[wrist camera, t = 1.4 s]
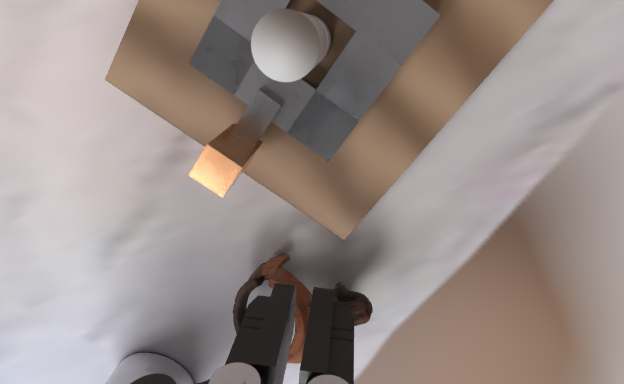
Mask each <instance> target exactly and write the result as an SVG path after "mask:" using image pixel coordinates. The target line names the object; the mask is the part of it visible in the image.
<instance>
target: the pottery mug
mask: <svg viewBox="0 0 624 384" xmlns="http://www.w3.org/2000/svg"><path fill="white" fill-rule="evenodd" d="M288 260H290V256H289V255H279V256H276V257H275V258H272V259H270V260H269V261H268V262H267V263H263V264H261V265H260V266H259V267H258V268H257V269H256V270H255V272H254V273H253V274H252V275H251V277H250V278H249V280H248V281H247V282H246V283H245V284H244V285H243V286H242V287H241V288H240V290H239V291H238V293H237V296H236V299H235V304H234V309H233V315H234V317H233V318H234V326H235V330H236V333H238V330H239V328H240V325H241V323H242V320H243V318H244V315H245V312H246V310H247V300H248V297H249V295H250V293H251V292H252V291H253V290H254V289H255V288H256V287H258V286H260V285H261V284H262V283H263V281H264V280H269V286H270V287H271V288H274V285H275V283H283V284H292V285H296V300H295V335H294V339H293V342H292V344H291V346H290V350H289V354H288V359H287V362H288V363H301V361H302V355H303V349H304V343H305V337H306V331H307V325H308V319H309V313H310V307H311V301H312V294H311V293H310V292H309V291H308V289H306V288H305V286H304V285H303V284H302V283H301V282H300V281H298V280H297V279H296V278H295V277H294V276H293V275H291V274H290V273H289V272H287V271H286V270H284V269H281V267H282V265H283V264H284V263H286V262H287V261H288ZM333 290H334V299H333V305H339V306H347V307H349V309H350V311H351V313H352V315H353V317H354V326H356V325H360V324H364V323H366V322H368V321H369V319H370V316H371V313H372V304H371V302H370V301H369V299H368V298H367V297H366V296H365V295H364V294H361V293H358V292H353V291H349V290H348V289H347V288H346V287H345V286H344V285H343V284H341V283H338V284H337V285H336V287H335V288H334V289H333Z"/></svg>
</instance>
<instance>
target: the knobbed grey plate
mask: <svg viewBox="0 0 624 384" xmlns="http://www.w3.org/2000/svg"><path fill="white" fill-rule="evenodd" d="M293 1H294V0H221V2H220V4H219V6H218V8H217V10H216V12H215V14H214V16H213V17H212V19H211V21H210V23H209V25H208V27H207V29H206V31H205V33H204V35H203V37H202V39H201V41H200V43H199V45H198V46H197V48H196V50H195V52H194V54H193V56H192V58H191V60H190V62H189V64H190V65H191V66H193V67H194V68H196V69H197V70H198V71H200V72H201V73H203V74H204V75H206V76H207V77H208V78H210V79H211V80H213V81H214V82H215V83H217V84H218V85H220V86H221V87H223V88H224V89H225V90H227V91H228V92H230V93H231V94H233V95H234V96H235V97H237V98H238V99H240V100H241V101H243V102H244V103H245V104H247V105H248V107H247V108H246V110H245V112H244V113H243V115H242V117H241V118H240V120H239V121H238V123H237V124H236V123H233V124H232V125H231V126H230V127H228V128H227V129H226V130H224V131H223V132H222V133H221V134H219V135H218V136H217V137H215V138H214V139H213V140H212V141H210V142H209V143H208V144H207V145H206V147H205V148H204V150H203V152H202V153H201V155H200V157H199V158H198V160H197V162H196V163H195V165H194V167H193V168H192V170H191V172H190V174H189V176H190V177H192V178H193V179H195V180H196V181H198V182H199V183H201V184H203V185H204V186H206V187H207V188H209V189H210V190H212V191H213V192H215V193H216V194H218V195H219V196H221V197H222V198H223V196H224V195H225V194H226V193H227V191H228V190H229V189H230V187H231V186H232V185H233V184H234V182H235V181H236V180H237V179H238V177H239V176H240V175H241V174H242V172H243V171H244V170H245V169H246V167H247V166H248V164H249V163H250V161H251V160H252V158H253V157H254V155H255V154H256V152H257V151H258V149H259V148H260V146H261V145H262V143H263V142H262V141H261V140H260V138H261V137H262V135H263V134H264V132H265V131H266V129H267V128H268V126H269V125H270V123H271V122H272V123H274V124H275V125H277V126H278V127H280V128H281V129H282V130H284V131H285V132H287V133H288V134H290V135H291V136H292V137H294V138H295V139H297V140H298V141H300V142H301V143H302V144H304V145H305V146H307V147H308V148H309V149H311V150H312V151H314V152H315V153H317V154H318V155H319V156H321V157H322V158H324V159H325V160H327V161H328V162H329V160H330V159H331V158H332V156H333V155H334V154H335V152H336V151H337V150H338V148H339V147H340V146H341V145H342V143H343V142H344V141H345V139H346V138H347V137H348V135H349V134H350V133H351V131H352V130H353V129H354V128H355V126H356V125H357V124H358V122H359V121H360V120H361V118H362V117H363V116H364V114H365V113H366V112H367V111H368V109H369V108H370V107H371V105H372V104H373V103H374V101H375V100H376V99H377V97H378V96H379V95H380V94H381V92H382V91H383V90H384V88H385V87H386V86H387V84H388V83H389V82H390V80H391V79H392V78H393V77H394V75H395V74H396V73H397V71H398V70H399V69H400V67H401V66H402V65H403V63H404V62H405V61H406V60H407V58H408V57H409V56H410V54H411V53H412V52H413V50H414V49H415V48H416V46H417V45H418V44H419V43H420V41H421V40H422V39H423V37H424V36H425V35H426V33H427V32H428V31H429V29H430V28H431V27H432V26H433V24H434V23H435V22H436V20H437V19H438V18H439V16H440V14H439V13H437V12H436V11H435V10H434V9H432V8H431V7H430V6H429V5H428V4H426V3H425V2H424V1H423V0H316V1H318V2H319V3H320V4H322V5H323V6H324V7H325V8H327V9H328V10H329V11H331V12H332V13H333V14H334V15H336V16H337V17H338V18H340V19H341V20H342V21H344V22H345V23H346V24H347V25H349V26H350V27H351V28H353V29H354V30H355V31H356V32H355V34H354V35H353V37H352V38H351V39H350V41H349V42H348V44H347V45H346V47H345V48H344V50H343V51H342V53H341V54H340V56H339V57H338V58H337V60H336V61H335V63H334V64H333V66H332V67H331V69H330V70H329V72H328V73H327V75H326V76H325V77H324V79H323V80H322V82H321V83H320V85H319V86H318V87H316V86H315V85H314V84H312V83H311V82H310V81H308V80H307V79H306V78H304V77H302V78H301V79H299V80H296V81H293V82H279V81H276V80H273V79H271V78H269V77H268V76H266V75H265V74H264V73H263V72H262V71H261V70H260V69H259V68H258V66H257V65H256V63H255V61H254V58H253V55H252V51H251V38H252V33H253V30H254V28H255V26H256V24H257V23H258V21H259V20H260V19H261V18H262V17H263V16H264V15H266V14H267V13H269V12H271V11H273V10H277V9H289V7H290V6H291V4H292V2H293Z"/></svg>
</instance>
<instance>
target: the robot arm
mask: <svg viewBox="0 0 624 384" xmlns="http://www.w3.org/2000/svg"><path fill="white" fill-rule="evenodd" d="M333 299H334V290H333V289H325V288H317V287H314V289H313V295H312V301H311V307H310V313H309V319H308V325H307V331H306V337H305V343H304V349H303V355H302V361H301V367H300V376H299V384H354V380H353V379H354V317H353V315H352V313H351V311H350V309H349V307H347V306H339V305H333ZM295 300H296V285H292V284H283V283H275V285H274V288H273V291H272V294H271V297H266V296H257V297H256V298H255V299H254V300H253V301H252V302H251V303H250V304H249V305H248V307H247V310H246V312H245V315H244V318H243V320H242V323H241V325H240V328H239V330H238V333H237V336H236V338H235V341H234V343H233V346H232V348H231V351H230V353H229V356H228V359H227V361H226V363H225V365H224V366H222V367H221V368H219V369H218V370H217V371H216V372H215V373H214V374H213V375H212V377H211V379H209V380H207V381H204V382H202V383H197V384H282V383H283V378H284V374H285V369H286V364H287V359H288V354H289V350H290V345H291V340H292V335H293V328H294V317H295ZM106 384H194V382H193V380H192V378H191V376H190V375H189V374H188V372H187V371H186V370H185V369H184V368H183V367H182V366H181V365H179V364H178V363H176V362H175V361H173V360H171V359H169V358H167V357H165V356H161V355H158V354H153V353H137V354H132V355H130V356H128V357H126V358H125V359H124V360H122V361H121V363H120V364H119V365H118V367H117V368H116V370H115V371H114V372H113V374H112V375H111V377H110V378H109V379H108V381H107V382H106Z"/></svg>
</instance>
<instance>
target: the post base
mask: <svg viewBox="0 0 624 384" xmlns="http://www.w3.org/2000/svg"><path fill="white" fill-rule="evenodd" d="M423 1H424V2H425V3H426V4H428V5H429V6H430V7H431V8H432V9H434V10H435V11H436V12H437V13H439V14H440V16H439V18H438V19H437V20H436V22H435V23H434V24H433V26H432V27H431V28H430V29H429V31H428V32H427V33H426V35H425V36H424V37H423V39H422V40H421V41H420V43H419V44H418V45H417V46H416V48H415V49H414V50H413V52H412V53H411V54H410V56H409V57H408V58H407V60H406V61H405V62H404V63H403V65H402V66H401V67H400V69H399V70H398V71H397V73H396V74H395V75H394V77H393V78H392V79H391V80H390V82H389V83H388V84H387V86H386V87H385V88H384V90H383V91H382V92H381V94H380V95H379V96H378V97H377V99H376V100H375V101H374V103H373V104H372V105H371V107H370V108H369V109H368V111H367V112H366V113H365V114H364V116H363V117H362V118H361V120H360V121H359V122H358V124H357V125H356V126H355V128H354V129H353V130H352V131H351V133H350V134H349V135H348V137H347V138H346V139H345V141H344V142H343V143H342V145H341V146H340V147H339V148H338V150H337V151H336V152H335V154H334V155H333V156H332V158H331V159H330V160H329V162H328V161H327V160H325V159H324V158H322V157H321V156H319V155H318V154H317V153H315V152H314V151H312V150H311V149H309V148H308V147H307V146H305V145H304V144H302V143H301V142H300V141H298V140H297V139H295V138H294V137H292V136H291V135H290V134H288V133H287V132H285V131H284V130H282V129H281V128H280V127H278V126H277V125H275V124H274V123H272V122H271V123H270V125H269V126H268V128H267V129H266V131H265V132H264V134H263V135H262V137H261V138H260V140H261V141H262V142H263V143H262V145H261V146H260V148H259V149H258V151H257V152H256V154H255V155H254V157H253V158H252V160H251V161H250V163H249V164H248V166H247V167H246V169H245V170H244V171H243V173H245V174H246V175H248V176H249V177H251V178H252V179H254V180H255V181H257V182H258V183H260V184H261V185H263V186H264V187H266V188H267V189H269V190H270V191H272V192H273V193H275V194H276V195H278V196H279V197H281V198H282V199H284V200H285V201H287V202H288V203H290V204H291V205H293V206H294V207H296V208H297V209H298V210H300V211H301V212H303V213H304V214H306V215H307V216H309V217H310V218H312V219H313V220H315V221H316V222H318V223H319V224H321V225H322V226H324V227H325V228H327V229H328V230H330V231H331V232H333V233H334V234H336V235H337V236H339V237H340V238H342V239H343V240H345V238H346V237H347V236H348V235H349V234H350V233H351V232H352V230H353V229H354V228H355V227H356V226H357V225H358V224H359V222H360V221H361V220H362V219H363V218H364V217H365V215H366V214H367V213H368V212H369V211H370V210H371V209H372V207H373V206H374V205H375V204H376V203H377V202H378V201H379V199H380V198H381V197H382V196H383V195H384V194H385V193H386V191H387V190H388V189H389V188H390V187H391V186H392V185H393V183H394V182H395V181H396V180H397V179H398V178H399V177H400V175H401V174H402V173H403V172H404V171H405V170H406V169H407V167H408V166H409V165H410V164H411V163H412V162H413V161H414V159H415V158H416V157H417V156H418V155H419V154H420V153H421V151H422V150H423V149H424V148H425V147H426V146H427V145H428V143H429V142H430V141H431V140H432V139H433V138H434V136H435V135H436V134H437V133H438V132H439V131H440V130H441V128H442V127H443V126H444V125H445V124H446V123H447V122H448V120H449V119H450V118H451V117H452V116H453V115H454V114H455V112H456V111H457V110H458V109H459V108H460V107H461V106H462V104H463V103H464V102H465V101H466V100H467V99H468V98H469V96H470V95H471V94H472V93H473V92H474V91H475V90H476V88H477V87H478V86H479V85H480V84H481V83H482V82H483V80H484V79H485V78H486V77H487V76H488V75H489V74H490V72H491V71H492V70H493V69H494V68H495V67H496V66H497V64H498V63H499V62H500V61H501V60H502V59H503V57H504V56H505V55H506V54H507V53H508V52H509V51H510V49H511V48H512V47H513V46H514V45H515V44H516V43H517V41H518V40H519V39H520V38H521V37H522V36H523V35H524V33H525V32H526V31H527V30H528V29H529V28H530V27H531V25H532V24H533V23H534V22H535V21H536V20H537V19H538V17H539V16H540V15H541V14H542V13H543V12H544V11H545V9H546V8H547V7H548V6H549V5H550V4H551V3H552V1H553V0H423ZM220 2H221V0H139V1H138V4H137V6H136V8H135V11H134V13H133V15H132V18H131V20H130V22H129V25H128V27H127V29H126V32H125V34H124V36H123V39H122V41H121V43H120V46H119V48H118V50H117V53H116V55H115V57H114V60H113V62H112V64H111V67H110V69H109V71H108V73H107V76H106V78H105V80H106V81H108V82H109V83H111V84H112V85H114V86H115V87H117V88H118V89H120V90H121V91H123V92H124V93H126V94H127V95H129V96H130V97H132V98H133V99H135V100H136V101H138V102H139V103H141V104H142V105H144V106H145V107H146V108H148V109H149V110H151V111H152V112H154V113H155V114H157V115H158V116H160V117H161V118H163V119H164V120H166V121H167V122H169V123H170V124H172V125H173V126H175V127H176V128H178V129H179V130H181V131H182V132H184V133H185V134H187V135H188V136H190V137H191V138H193V139H194V140H196V141H197V142H199V143H200V144H202V145H203V146H205V147H206V145H207V144H208V143H209V142H210V141H212V140H213V139H214V138H215V137H217V136H218V135H219V134H221V133H222V132H223V131H224V130H226V129H227V128H228V127H230V126H231V125H232V124H233V123H236V124H237V123H238V121H239V120H240V118H241V117H242V115H243V113H244V112H245V110H246V108H247V107H248V105H247V104H245V103H244V102H243V101H241V100H240V99H238V98H237V97H235V96H234V95H233V94H231V93H230V92H228V91H227V90H225V89H224V88H223V87H221V86H220V85H218V84H217V83H215V82H214V81H213V80H211V79H210V78H208V77H207V76H206V75H204V74H203V73H201V72H200V71H198V70H197V69H196V68H194V67H193V66H191V65H190V64H189V62H190V60H191V58H192V56H193V54H194V52H195V50H196V48H197V46H198V45H199V43H200V41H201V39H202V37H203V35H204V33H205V31H206V29H207V27H208V25H209V23H210V21H211V19H212V17H213V16H214V14H215V12H216V10H217V8H218V6H219V4H220ZM355 32H356V31H355V30H354V29H353V28H351V27H350V26H349V25H347V24H346V23H345V22H344V21H342V20H341V19H340V18H338V17H337V16H336V15H334V14H333V13H332V12H331V11H329V10H328V9H327V8H325V7H324V6H323V5H322V4H320V3H319V2H318V1H316V0H294V1H293V2H292V4H291V6H290V7H289V9H277V10H273V11H271V12H269V13H267V14H266V15H264V16H263V17H262V18H261V19H260V20H259V21H258V23H257V24H256V26H255V28H254V30H253V33H252V38H251V51H252V55H253V58H254V61H255V63H256V65H257V66H258V68H259V69H260V70H261V71H262V72H263V73H264V74H265V75H266V76H268V77H269V78H271V79H273V80H276V81H279V82H293V81H296V80H299V79H301V78H302V77H304V78H306V79H307V80H308V81H310V82H311V83H312V84H314V85H315V86H316V87H318V86H319V85H320V83H321V82H322V80H323V79H324V77H325V76H326V75H327V73H328V72H329V70H330V69H331V67H332V66H333V64H334V63H335V61H336V60H337V58H338V57H339V56H340V54H341V53H342V51H343V50H344V48H345V47H346V45H347V44H348V42H349V41H350V39H351V38H352V37H353V35H354V34H355Z"/></svg>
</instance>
